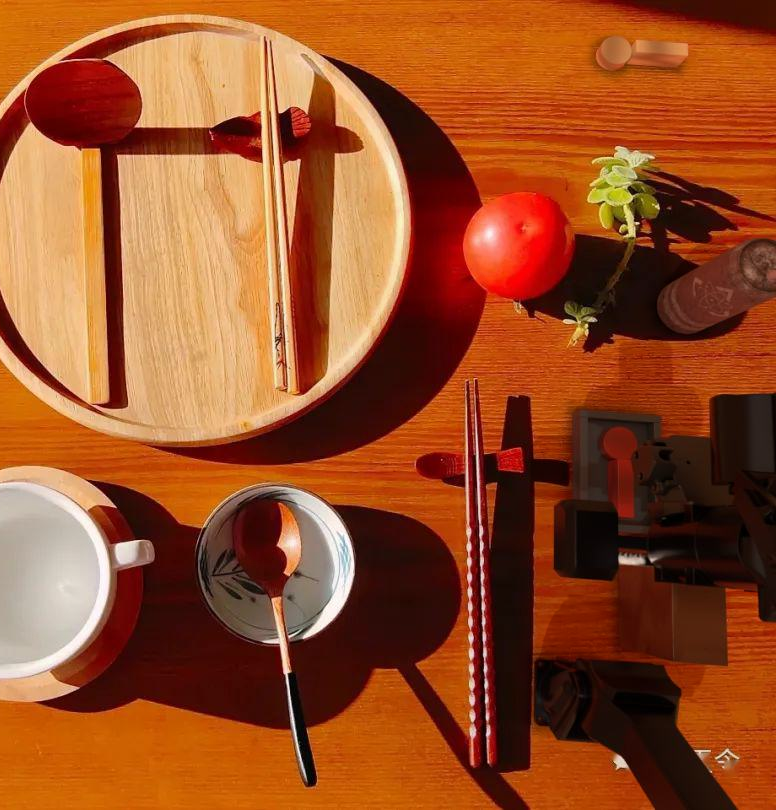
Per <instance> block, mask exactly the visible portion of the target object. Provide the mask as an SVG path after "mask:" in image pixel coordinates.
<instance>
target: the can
mask: <svg viewBox="0 0 776 810" xmlns="http://www.w3.org/2000/svg"><path fill="white" fill-rule="evenodd" d="M775 298H776V239H774V238H769V237H755V238H754V237H753V238H747V239H745V240H743V241H741V242H739V243H737V244H736V245H734V246H732V247H731V248H729V249H727V250H725V251H724V252H721V253H720V254H718V255H717V256H715V257H712V259H709V260H708V261H706V262H704V263H702V264H701V265H699V266H698V267H696V268H694V269H692V270H690V271H689V272H687V273H686V274H683V275H682V276H680V277H678V278H676V279H675V280H674V281H672V282H670V283H668V284H667V285H665V286H664V287H663V288H662V289H661V290H660V292H659V294H658V297H657V300H656V311H657V315H658V317H659V319H660V320H661V323H663V324H664V325H665V326H666V327H667V328H668V329H670V330H672V331H673V332H676V333H679V334H684V335H689V334H695V333H698V332H700V331H702V330H705V329H708V328H710V327H713V326H714V325H717V324H719V323H722V322H723V321H726V320H727V319H730V318H732V317H734V316H736V315H737V316H738V315H739V314H741V313H744V312H746V311H748V310H751V309H752V308H755V307H757V306H759V305H762V304H763V303H766V302H769V301H770V300H773V299H775Z"/></svg>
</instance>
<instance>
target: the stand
mask: <svg viewBox="0 0 776 810" xmlns="http://www.w3.org/2000/svg"><path fill="white" fill-rule="evenodd" d="M619 552H622V554H623V552H627V554H628V552H631V553H632V555H633V553H637V555H638V553H641V554H642V555H643V554H647V551H645V550H632V549H619ZM647 555H648V554H647ZM617 616H618V617H617V625H618V628H617V629H618V634H617V635H618V637H617V638H618V648H621V649H625V650H629V651H632V652H635V653H639V654H642V655H647V656H650V657H653V658H657V659H661V660H664V661H668V662H672V663H678V664H679V663H680V664H690V665H691V664H692V665H703V666H715V667H729V650H728V649H729V648H728V647H729V645H728V621H727V620H728V618H727V616H728V615H727V588H717V587H704V586H692V585H685V584H676V583H663V582H654V567H645V566H632V565H619V570H618V572H617Z"/></svg>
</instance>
